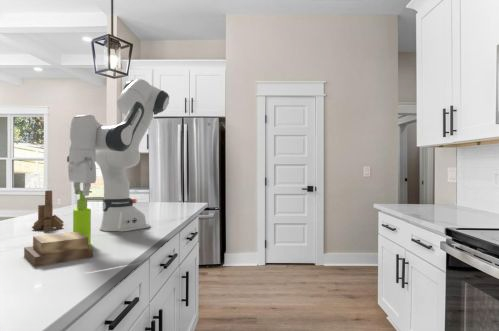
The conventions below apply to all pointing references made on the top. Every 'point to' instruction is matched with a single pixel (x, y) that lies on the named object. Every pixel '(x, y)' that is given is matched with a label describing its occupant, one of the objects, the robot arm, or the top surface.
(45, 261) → the walnut base slab
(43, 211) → the wooden blocks
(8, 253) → the top surface
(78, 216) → the soap dispenser
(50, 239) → the oak top slab
